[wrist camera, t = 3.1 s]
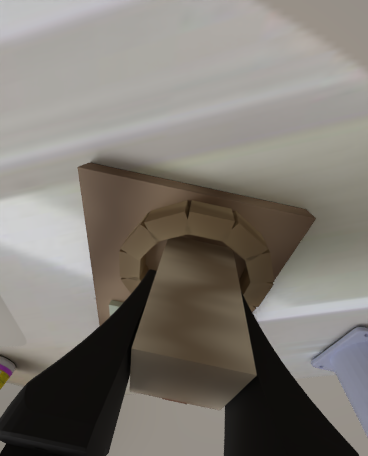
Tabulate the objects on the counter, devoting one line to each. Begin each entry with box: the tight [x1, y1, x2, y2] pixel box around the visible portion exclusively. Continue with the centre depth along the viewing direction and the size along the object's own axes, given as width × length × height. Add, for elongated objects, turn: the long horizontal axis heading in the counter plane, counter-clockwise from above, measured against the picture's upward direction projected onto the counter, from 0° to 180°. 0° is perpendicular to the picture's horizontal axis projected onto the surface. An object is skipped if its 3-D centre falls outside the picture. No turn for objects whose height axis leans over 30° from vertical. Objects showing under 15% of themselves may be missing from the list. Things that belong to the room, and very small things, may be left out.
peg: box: [130, 237, 257, 410], centre depth 10 cm, size 4×4×7 cm
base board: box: [78, 163, 316, 326], centre depth 16 cm, size 14×21×3 cm, turn 170°
